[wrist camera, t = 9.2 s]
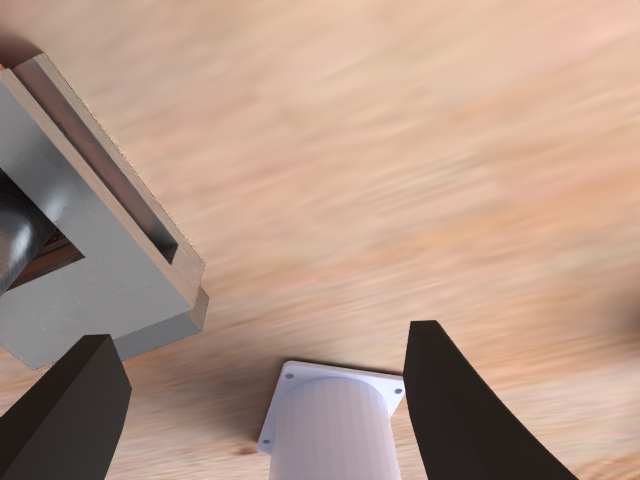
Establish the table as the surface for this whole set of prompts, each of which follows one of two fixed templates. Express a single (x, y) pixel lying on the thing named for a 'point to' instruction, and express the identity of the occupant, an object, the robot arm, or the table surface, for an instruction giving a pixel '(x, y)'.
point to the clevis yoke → (88, 232)
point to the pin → (19, 230)
